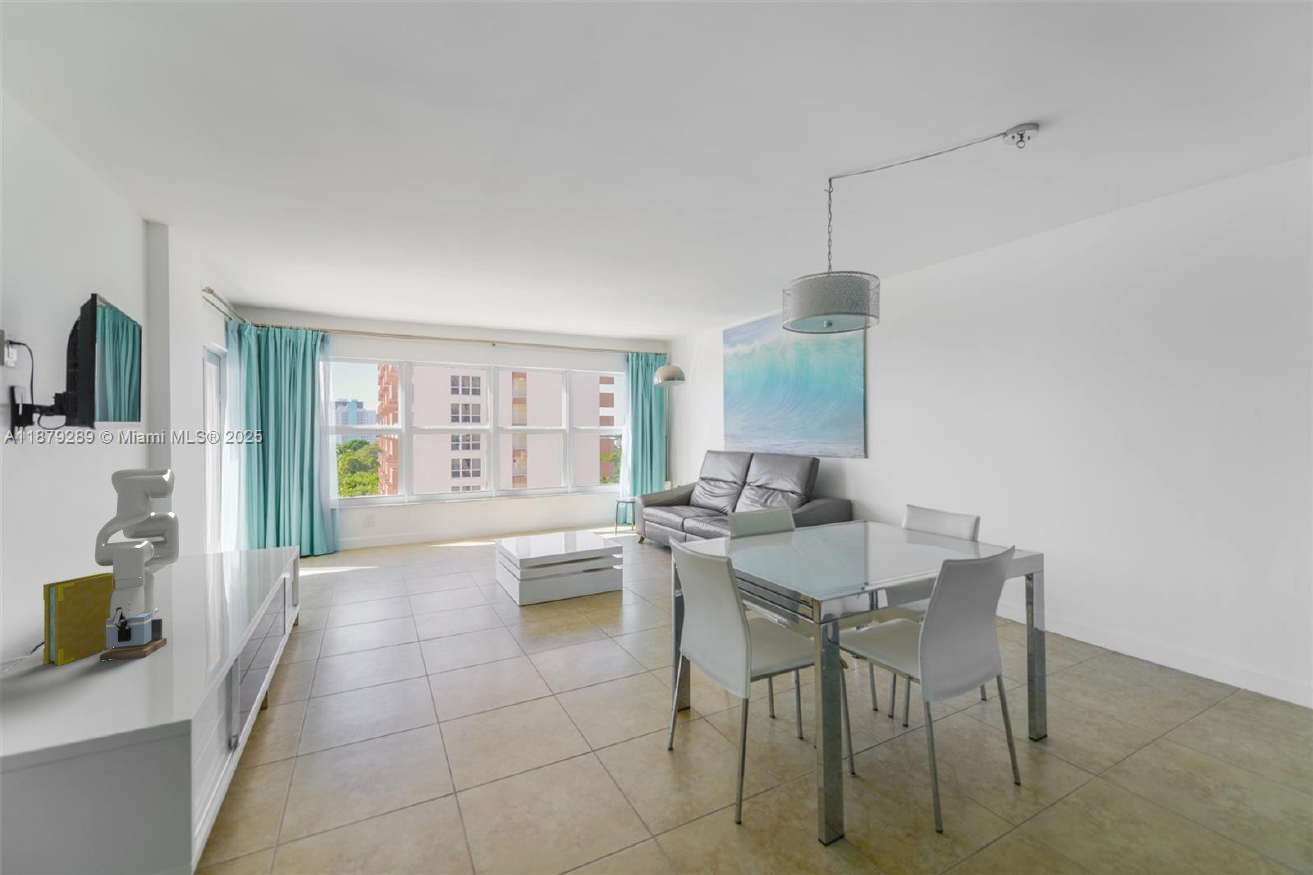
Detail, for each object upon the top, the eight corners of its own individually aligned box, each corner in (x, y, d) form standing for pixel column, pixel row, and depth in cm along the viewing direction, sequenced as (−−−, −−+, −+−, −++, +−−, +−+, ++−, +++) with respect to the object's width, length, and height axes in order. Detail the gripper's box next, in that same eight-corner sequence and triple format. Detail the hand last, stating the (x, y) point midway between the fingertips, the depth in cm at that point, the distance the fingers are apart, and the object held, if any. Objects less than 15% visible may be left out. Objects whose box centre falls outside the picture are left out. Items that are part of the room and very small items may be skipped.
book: (59, 665, 174) (59, 585, 174) (43, 663, 175) (43, 584, 175) (121, 645, 190) (121, 572, 190) (106, 644, 192) (106, 572, 192)
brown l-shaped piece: (123, 647, 188) (123, 621, 188) (166, 643, 192) (166, 617, 192) (100, 661, 177) (100, 633, 177) (146, 656, 180) (145, 629, 180)
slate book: (114, 643, 182) (114, 616, 182) (151, 640, 185) (151, 613, 185) (106, 647, 178) (106, 619, 178) (144, 644, 181) (144, 616, 181)
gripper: (130, 577, 189) (130, 631, 188) (97, 590, 173) (97, 649, 172) (157, 576, 191) (157, 629, 191) (127, 588, 175) (127, 646, 175)
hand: (129, 638), depth 182 cm, fingers closed on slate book, 4 cm apart
